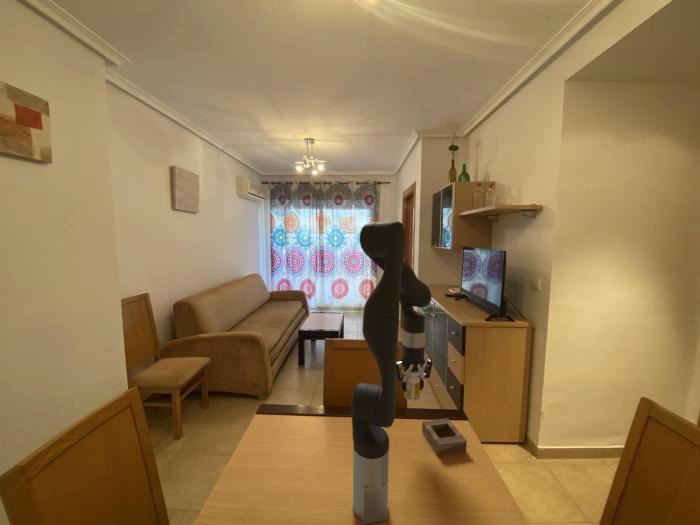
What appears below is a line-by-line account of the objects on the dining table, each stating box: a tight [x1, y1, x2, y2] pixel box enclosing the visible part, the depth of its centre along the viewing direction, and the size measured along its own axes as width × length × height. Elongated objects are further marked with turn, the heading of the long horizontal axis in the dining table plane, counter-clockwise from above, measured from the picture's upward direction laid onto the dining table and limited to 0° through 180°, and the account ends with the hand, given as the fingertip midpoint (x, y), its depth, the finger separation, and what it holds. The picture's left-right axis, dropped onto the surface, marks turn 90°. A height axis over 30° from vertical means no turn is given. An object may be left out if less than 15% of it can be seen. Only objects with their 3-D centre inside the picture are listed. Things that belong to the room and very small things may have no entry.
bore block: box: [421, 417, 467, 457], centre depth 103 cm, size 12×10×4 cm
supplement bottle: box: [403, 371, 421, 402], centre depth 104 cm, size 5×5×10 cm
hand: (412, 389), depth 104 cm, fingers closed on supplement bottle, 5 cm apart
